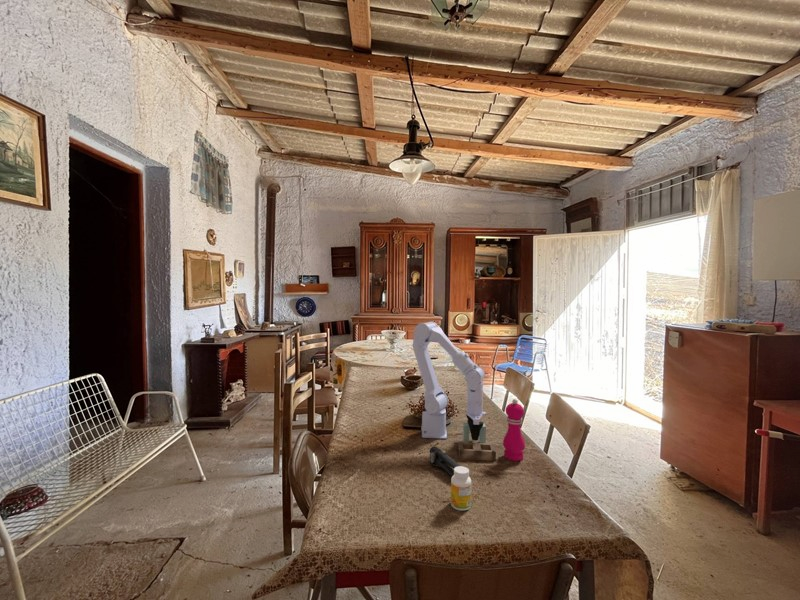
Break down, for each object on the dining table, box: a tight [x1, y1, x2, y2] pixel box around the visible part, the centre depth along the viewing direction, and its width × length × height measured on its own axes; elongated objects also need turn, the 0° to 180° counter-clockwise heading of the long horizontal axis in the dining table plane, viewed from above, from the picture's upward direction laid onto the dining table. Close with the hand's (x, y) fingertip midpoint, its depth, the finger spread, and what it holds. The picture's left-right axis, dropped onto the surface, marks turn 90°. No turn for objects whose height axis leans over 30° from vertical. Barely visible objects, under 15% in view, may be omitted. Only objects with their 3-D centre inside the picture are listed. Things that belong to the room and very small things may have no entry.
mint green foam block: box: [462, 422, 487, 443], centre depth 139 cm, size 8×3×7 cm, turn 84°
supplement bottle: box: [450, 465, 472, 512], centre depth 100 cm, size 5×5×10 cm
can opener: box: [429, 446, 461, 478], centre depth 118 cm, size 18×7×6 cm, turn 26°
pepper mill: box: [502, 398, 526, 462], centre depth 128 cm, size 7×7×20 cm
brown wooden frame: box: [458, 441, 497, 462], centre depth 129 cm, size 12×6×3 cm, turn 84°
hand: (474, 436), depth 139 cm, fingers open, 5 cm apart
